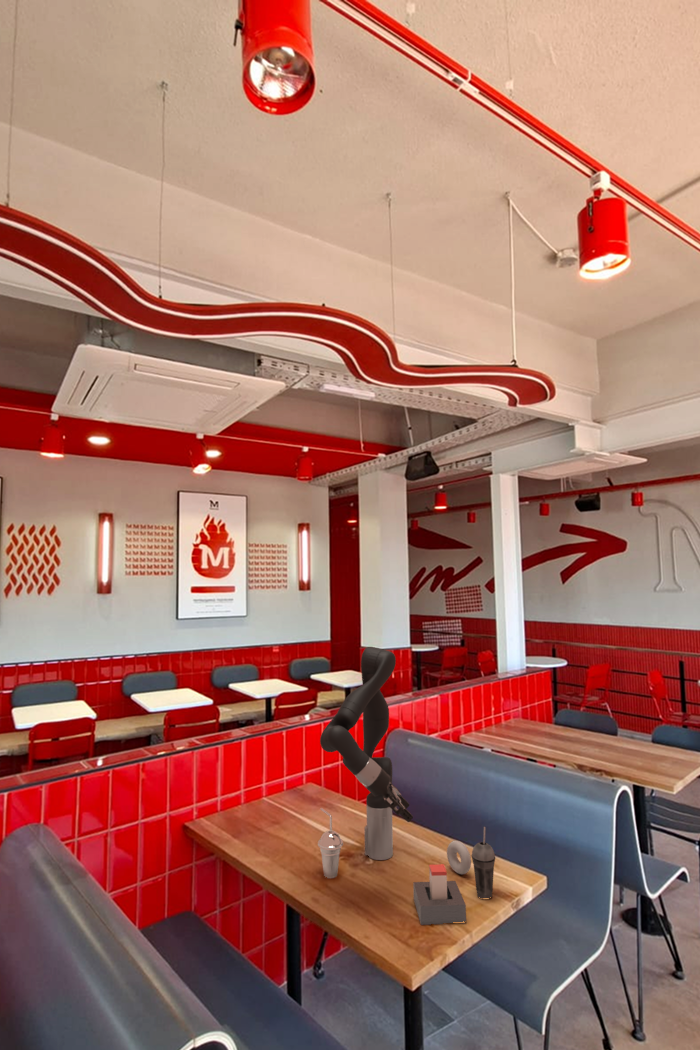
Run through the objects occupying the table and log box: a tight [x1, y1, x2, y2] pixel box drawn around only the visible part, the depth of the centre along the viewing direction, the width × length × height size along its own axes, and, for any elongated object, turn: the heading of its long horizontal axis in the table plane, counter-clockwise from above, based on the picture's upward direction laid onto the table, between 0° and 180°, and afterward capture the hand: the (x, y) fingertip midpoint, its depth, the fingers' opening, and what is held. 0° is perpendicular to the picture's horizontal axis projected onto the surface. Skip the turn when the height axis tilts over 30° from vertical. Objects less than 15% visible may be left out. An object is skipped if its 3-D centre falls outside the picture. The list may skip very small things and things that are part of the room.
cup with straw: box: [317, 807, 344, 879], centre depth 191 cm, size 8×9×20 cm
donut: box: [446, 840, 472, 875], centre depth 191 cm, size 10×4×10 cm, turn 34°
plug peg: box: [428, 863, 448, 900], centre depth 169 cm, size 4×4×12 cm
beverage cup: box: [471, 826, 496, 899], centre depth 177 cm, size 7×7×20 cm
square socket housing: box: [412, 880, 467, 926], centre depth 169 cm, size 13×13×5 cm
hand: (409, 813), depth 177 cm, fingers open, 8 cm apart
